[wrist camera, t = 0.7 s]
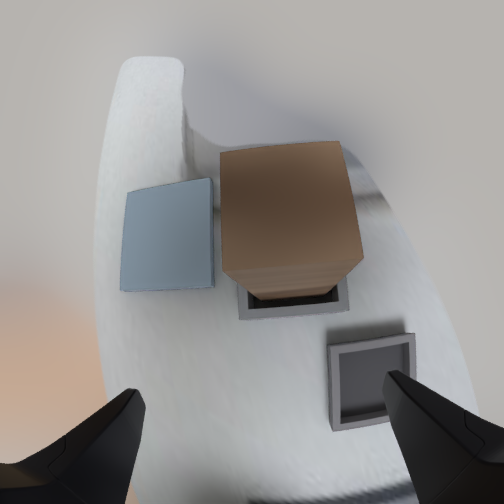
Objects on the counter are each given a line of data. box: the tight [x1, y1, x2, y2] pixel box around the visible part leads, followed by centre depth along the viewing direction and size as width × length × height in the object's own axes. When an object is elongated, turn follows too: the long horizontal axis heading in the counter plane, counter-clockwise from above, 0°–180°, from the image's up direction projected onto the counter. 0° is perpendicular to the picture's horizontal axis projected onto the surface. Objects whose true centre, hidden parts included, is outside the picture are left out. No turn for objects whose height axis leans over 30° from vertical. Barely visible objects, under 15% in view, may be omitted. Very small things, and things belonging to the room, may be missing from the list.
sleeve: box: [237, 276, 349, 320], centre depth 22 cm, size 8×8×3 cm
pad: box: [120, 178, 214, 292], centre depth 25 cm, size 10×9×1 cm
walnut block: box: [220, 141, 364, 302], centre depth 17 cm, size 5×5×14 cm
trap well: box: [327, 333, 416, 432], centre depth 19 cm, size 7×7×2 cm
